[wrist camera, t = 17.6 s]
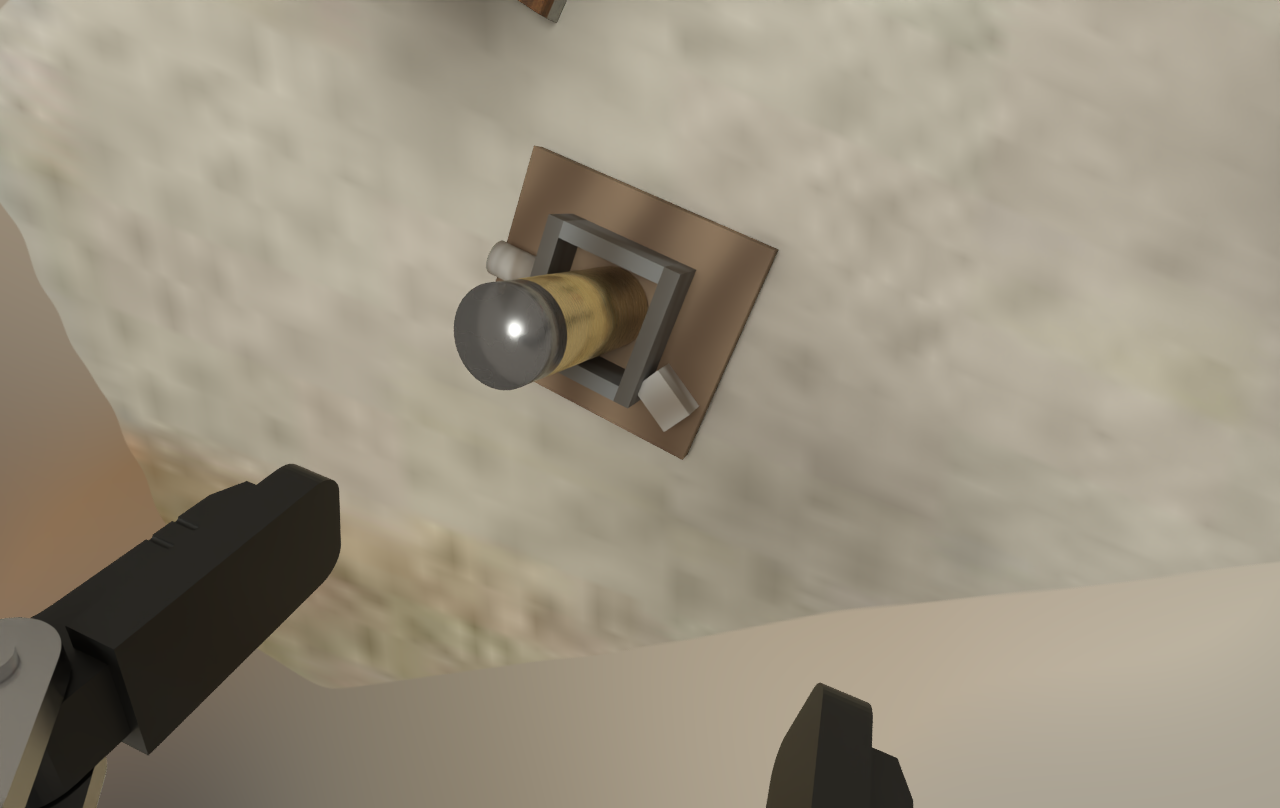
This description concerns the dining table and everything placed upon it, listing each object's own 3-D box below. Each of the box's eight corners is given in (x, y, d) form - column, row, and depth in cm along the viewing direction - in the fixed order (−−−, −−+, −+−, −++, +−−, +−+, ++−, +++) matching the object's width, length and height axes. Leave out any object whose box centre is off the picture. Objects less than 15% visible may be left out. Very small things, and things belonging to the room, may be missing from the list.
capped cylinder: (658, 283, 41) (557, 307, 30) (633, 359, 42) (530, 407, 32) (586, 254, 42) (466, 266, 31) (565, 329, 44) (444, 364, 33)
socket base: (778, 249, 39) (764, 254, 35) (687, 454, 44) (666, 476, 40) (542, 147, 42) (507, 141, 39) (484, 348, 48) (449, 360, 44)
